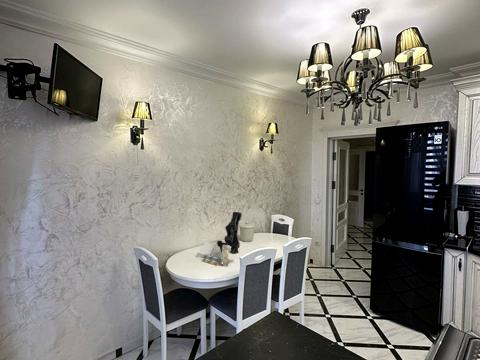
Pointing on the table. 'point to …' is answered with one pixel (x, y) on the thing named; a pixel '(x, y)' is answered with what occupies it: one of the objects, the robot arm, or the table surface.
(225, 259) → the maple post
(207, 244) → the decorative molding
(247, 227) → the canister
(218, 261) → the ridge rail
